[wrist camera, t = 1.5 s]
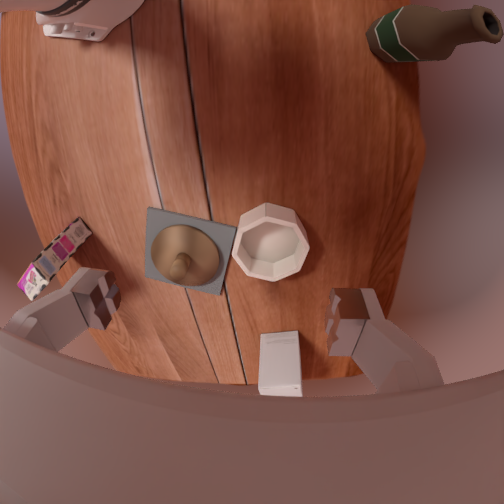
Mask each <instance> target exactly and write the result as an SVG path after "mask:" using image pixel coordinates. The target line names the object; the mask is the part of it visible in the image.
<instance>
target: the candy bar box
mask: <svg viewBox="0 0 504 504" xmlns="http://www.w3.org/2000/svg"><path fill="white" fill-rule="evenodd" d="M91 234H92V232H91V231H90V229H89V228H88V227H87V226H86V225H85V223H84V222H83V221H82V219H81V218H80V217H78V218H77V219H76V220H75V221H73V222H72V223H71V224H70V225H69V226H68V227H67V228H66V229H65V230H64V231H63V232H61V233H60V234H59V235H58V236H57V237H56V238H55V239H54V240H53V241H52V242H51V243H50V244H49V245H48V246H47V247H46V248H45V249H44V250H43V251H42V252H41V253H40V254H39V255H38V256H37V257H36V258H35V260H34V261H33V262H32V263H31V264H30V266H29V267H28V269H27V270H26V272H25V273H24V275H23V276H22V277H21V279H20V280H19V282H18V283H17V285H18V286H19V288H20V289H21V290H22V291H23V292H24V293H25V294H26V296H27V297H28V298H29V299H30V300H31V301H33V300H34V299H35V298H36V297H37V295H38V294H39V293H40V292H41V291H42V290H43V289H44V288H45V287H46V286H47V285H48V284H49V282H50V281H51V280H52V278H53V277H54V276H55V275H56V273H57V272H58V271H59V270H60V269H61V267H62V266H63V265H64V264H65V263H66V262H67V261H68V259H69V258H70V257H71V256H72V255H73V254H74V253H75V251H76V250H77V249H78V248H79V247H80V246H81V245H82V244H83V243H84V242H85V241H86V239H87V238H88V237H89V236H90V235H91Z"/></svg>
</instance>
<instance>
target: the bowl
mask: <svg viewBox="0 0 504 504" xmlns="http://www.w3.org/2000/svg"><path fill="white" fill-rule="evenodd" d="M309 249H310V246H309V242H308V237H307V233H306V230H305V228H304V227H303V225H302V223H301V221H300V219H299V218H298V216H297V214H296V212H295V211H294V210H293V209H290V208H286V207H282V206H278V205H275V204H271V203H264V204H262V205H260V206H258V207H256V208H254V209H252V210H250V211H248V212H246V213H244V214H242V215H241V217H240V220H239V224H238V228H237V232H236V236H235V240H234V245H233V250H232V256H233V258H234V259H235V260H236V262H237V263H238V264H239V266H240V267H241V268H242V270H243V271H244V272H245V274H246V275H248V276H251V277H255V278H260V279H264V280H269V281H273V282H274V281H277V280H280V279H282V278H285V277H287V276H289V275H292V274H294V273H296V272H299V270H300V269H301V267H302V265H303V263H304V260H305V258H306V256H307V253H308V251H309Z"/></svg>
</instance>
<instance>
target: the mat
mask: <svg viewBox="0 0 504 504" xmlns="http://www.w3.org/2000/svg"><path fill="white" fill-rule="evenodd" d="M178 224H183V225H190V226H193V227H196V228H198V229H200V230H202V231H203V232H205V233H206V234H207V235H208V236H210V237H211V239H212V240H213V241H214V242H215V244H216V246H217V248H218V251H219V256H220V260H219V266H218V269H217V272H216V274H215V275H214V277H213V278H212V279H211V280H209V281H208V282H206V283H204V284H201V285H198V286H184V285H179V284H176V283H174V282H172V281H170V280H168V279H167V278H165V277H164V276H163V275H162V274H161V273H160V272H159V271H158V270H157V269H156V267H155V266H154V264H153V261H152V258H151V246H152V243H153V241H154V239H155V237H156V236H157V235H158V233H159V232H160V231H161V230H163V229H164V228H166V227H169V226H171V225H178ZM235 231H236V227H234V226H230V225H226V224H222V223H218V222H213V221H209V220H205V219H201V218H196V217H192V216H188V215H183V214H179V213H175V212H170V211H166V210H162V209H157V208H153V207H148V208H147V225H146V249H145V277H147V278H151V279H155V280H159V281H162V282H166V283H170V284H174V285H178V286H182V287H186V288H190V289H194V290H198V291H202V292H206V293H211V294H215V295H219V296H220V292H221V287H222V283H223V279H224V275H225V271H226V267H227V263H228V259H229V255H230V251H231V247H232V243H233V239H234V235H235Z"/></svg>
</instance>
